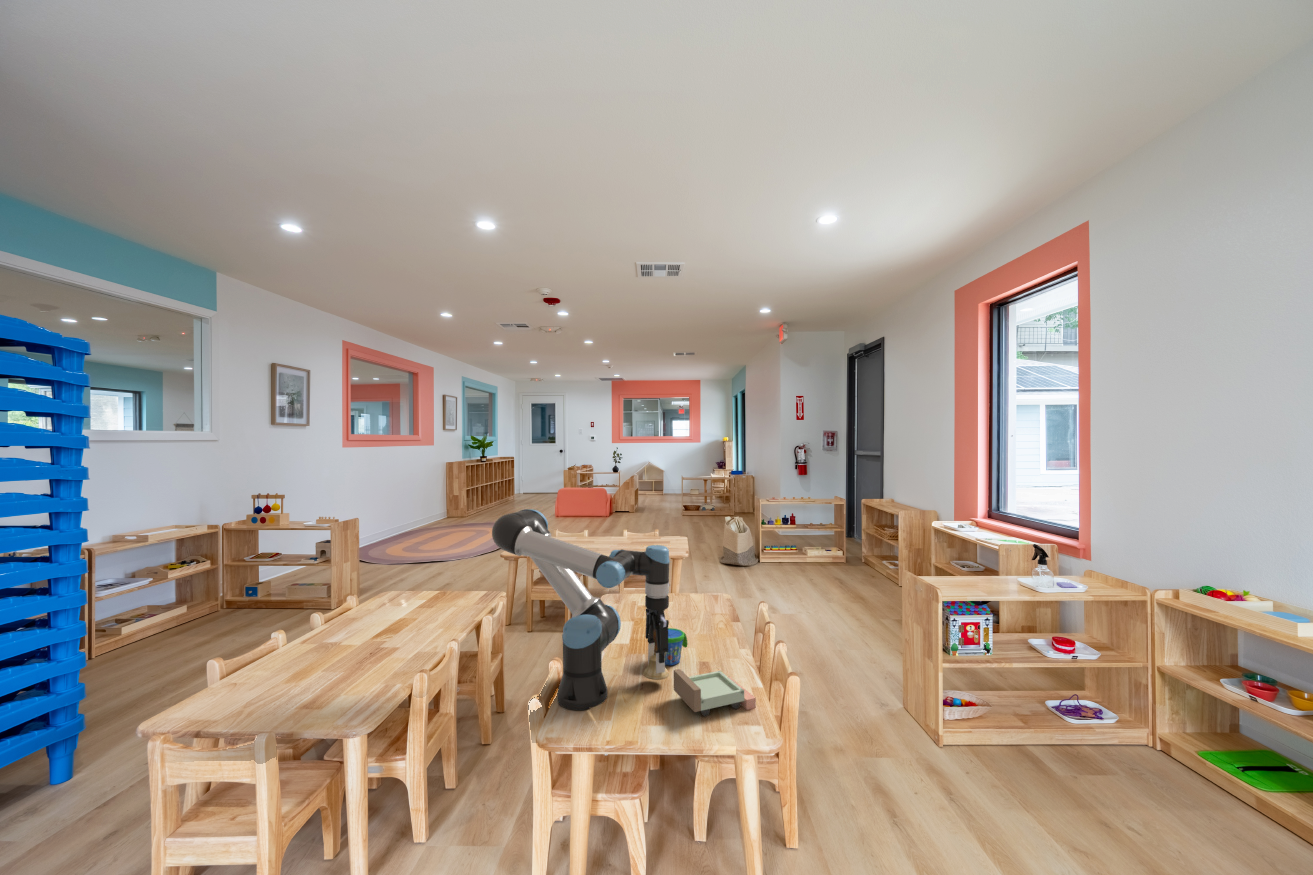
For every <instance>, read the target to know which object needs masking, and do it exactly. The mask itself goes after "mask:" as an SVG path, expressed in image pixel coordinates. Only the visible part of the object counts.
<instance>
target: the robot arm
mask: <svg viewBox="0 0 1313 875" xmlns="http://www.w3.org/2000/svg"><path fill="white" fill-rule="evenodd" d="M491 537H492V540H493V542H494V544H495V545H496V546H497V547H498V548H499V549H501V550H503V551H505V552H507V553H509V554H512V555H515V556H518V557H520V556H523V557H529V558H530V559H531V561H533V563H534V565H535V566H536V567H537V569H539V572H540V573H542V575H543V576H544V578H545V579H546V581H547V582H548V583H549V585H550V586H551V587H552V589H553V591H555V593H556V594H557V596H558V597H559V598H560V599H561V601H562V602H563V604H564V605H565V607H567V609H568V610H569V612H570V613H571V618H569V619H568V620H567V621H566V622H565V623H564V625H563V627H562V628H563V629H562V634H561V635H562V637H561V638H562V675H561V680H560V682H559V686H558V689H557V693H556V695H557V697H556V698H557V699H556V700H557V703H558V705H559V706H560V707H562V708H564V709H567V710H570V711H571V710H572V711H587V710H590V709H591V708H594V707H596V706H599V705H601V704H603V703H604V702H605V701H606V700H607V698H608V686H607V684H606V680H605V677H604V674H603V671H602V667H603V666H602V662H603V661H602V656H603V655H602V653H603V651H604V650H605V649H606V648H607V647H608V646H609V645H610V644H611V643H613V642H614V641H615V639H616V638H617V636H618V635H619V632H620V631H621V627H622V621H621V615H620V614H619V612H618V611H617V610H616V608H614V606H612V605H608V604H605V603H604V602H603V600H602V599H601V598H600V597H596V596H593V595H592V594H591V593H590V591H589V590H588V589H587V587H586V586H585V584H584V583H583V582H582V580H581V579H580V578H579V576H578V575H577V574H581V575H583V576H585V577H589V578H592V579H595V580H596V581H597V583H598V584H599V585H600V586H601V587H603V588H605V589H612V588H614V587H616V586H619V585H620V584H622V583H623V581H625V580H626V579H627V578H629V577H630V576H641V577H643V576H644V577H645V582H644V583H645V584H644V586H645V590H644V594H645V597H644V600H645V601H644V607H645V636H644V637H645V639H647V643H648V646H647V647H648V650H647V654H648V655H647V664H649V658H650V656H652V655H654V646H655V643H654V639H653V631H654V629H655V630H656V641H657V651H655V652H656V673H661V672H665V668H666V665H665V652H668V628H669V623H670V620H668V619H666V615H665V610H667V609H668V608H669V606H670V597H669V594H670V593H669V591H670V589H669V588H670V586H671V584H670V563H671V562H670V550H669V548H668V547H667V546H666V545H660V544H659V545H658V544H652V545H648V546H646V547H645V550H644V551H639V550H628V549H627V550H626V549H614V550H612V551H611V552H610V554H609V555H605V554H602V553H600V552H596V551H593V550H590V549H587V548H584V547H582V546H579V545H577V544H576V545H575V544H573V543H570V542H566V541H563V540H560V539H558V538H554V537H552V533H551V531H550V530H549V521H548V519H547V518H546V516H545V515H544V514H543V513H542V512H541V511H539V510H537V509H532V508H531V509H528V508H527V509H525V508H524V509H522V510H521V509H520V510H519V511H515V512H512V513H506V514H504V515H501V516H500V517H498V518H497V519H496V521H495V522H494V524H493V525H492V528H491ZM576 573H577V574H576ZM657 626H658V627H657Z"/></svg>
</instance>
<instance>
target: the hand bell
mask: <svg viewBox="0 0 1313 875" xmlns="http://www.w3.org/2000/svg"><path fill="white" fill-rule="evenodd" d="M657 627H658V626H657ZM653 639H654V643H655V646H654V655H652V656H650V658H649V664H648V663H647V664H648V665H647V667H646V668H645V669H644V671H643V676H644V678H646V679H649V680H652V681H660V680H665V679H667V678H668V677H669V676H670V672H669V671H668V669H667V668H666V667H665V672H661V673H656V652H655V651H657V641H656V630H655V629H654V631H653Z"/></svg>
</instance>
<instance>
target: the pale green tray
mask: <svg viewBox="0 0 1313 875" xmlns="http://www.w3.org/2000/svg"><path fill="white" fill-rule="evenodd" d="M729 677H730V676H729ZM729 677H728V676H727V675H726V674H725V673H724V672H722V670H717V671H711V672H707V673H702V674H696V675H691V676H688V675H687V674H686V673H685V672H684V671H683V670H682V669H680V668H677V669H673V691H674V692H675V693H676V694H677V695H678V696H679V697H680V698H681V700H682V701H683V702H684V703H685V704H686V705H687V706H688V707H689V708H690V709H691V710H692V712H694V713H697V712H700V714H701V715H702V716H703V717H708V716H709V714H710V710H711V709H714V708H719V707H723V706H728V705H731V707H732V708H733V709H735V710H738V709H739V708H740V707H741V704H740V702H741V701H744V690H743V689H742V688H741V687H740V686H741V685H740V686H738V685H737V684H736V683H735V682H733V681H732V680H731V679H730V678H729Z"/></svg>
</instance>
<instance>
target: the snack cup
mask: <svg viewBox="0 0 1313 875" xmlns="http://www.w3.org/2000/svg"><path fill="white" fill-rule="evenodd" d="M687 647H688V638H687V635H686V633H685V632H684V631H683V630H682V629H678V628H673V627H672V628H671V627H668V652H665V666H674V665H677V664H678V663H680V661H681V658H682V652H683V651H682V648H687Z"/></svg>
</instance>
